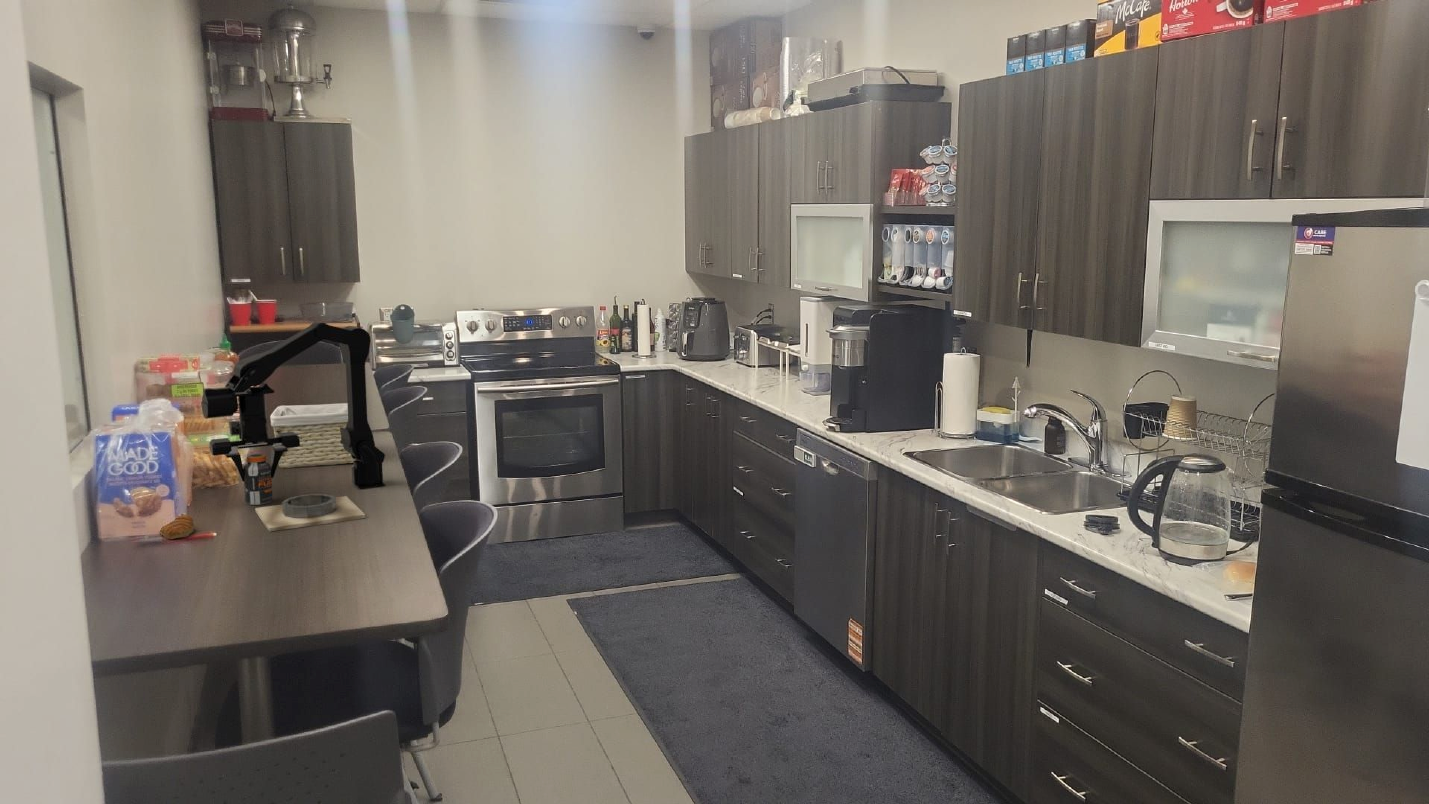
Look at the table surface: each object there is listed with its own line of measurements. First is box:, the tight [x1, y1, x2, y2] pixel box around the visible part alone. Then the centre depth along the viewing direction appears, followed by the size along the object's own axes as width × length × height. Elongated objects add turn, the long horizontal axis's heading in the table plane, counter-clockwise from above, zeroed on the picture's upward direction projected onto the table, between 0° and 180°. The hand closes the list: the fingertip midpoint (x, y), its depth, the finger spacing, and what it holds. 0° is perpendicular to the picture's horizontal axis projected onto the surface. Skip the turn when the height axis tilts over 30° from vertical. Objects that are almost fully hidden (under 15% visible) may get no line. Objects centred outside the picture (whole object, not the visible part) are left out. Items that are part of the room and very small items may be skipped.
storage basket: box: [269, 402, 356, 469], centre depth 284 cm, size 24×16×15 cm
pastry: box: [160, 513, 195, 540], centre depth 219 cm, size 9×7×4 cm
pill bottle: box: [243, 453, 274, 506], centre depth 243 cm, size 6×6×11 cm
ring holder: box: [255, 493, 366, 533], centre depth 234 cm, size 20×18×3 cm
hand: (257, 479), depth 243 cm, fingers closed on pill bottle, 6 cm apart
